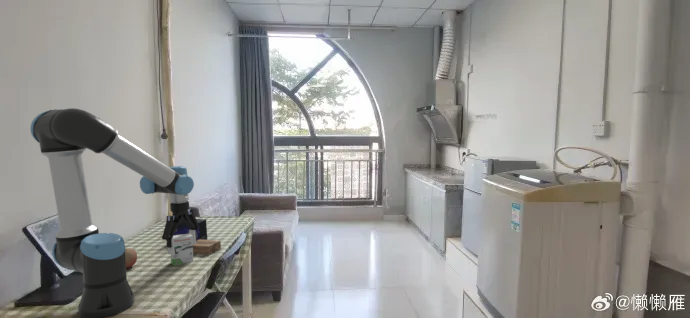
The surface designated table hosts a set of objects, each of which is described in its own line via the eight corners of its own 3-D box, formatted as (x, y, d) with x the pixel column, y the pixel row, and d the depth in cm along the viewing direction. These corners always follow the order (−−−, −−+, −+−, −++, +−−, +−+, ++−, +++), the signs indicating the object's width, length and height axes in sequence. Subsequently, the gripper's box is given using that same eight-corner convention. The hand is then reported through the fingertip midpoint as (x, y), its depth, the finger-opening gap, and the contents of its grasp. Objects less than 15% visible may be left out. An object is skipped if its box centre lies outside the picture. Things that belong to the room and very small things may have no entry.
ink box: (172, 265, 152) (171, 238, 151) (171, 262, 156) (169, 236, 155) (194, 261, 157) (192, 235, 156) (191, 258, 161) (190, 232, 160)
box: (171, 243, 185) (170, 220, 184) (180, 239, 191) (179, 217, 191) (200, 245, 181) (199, 221, 180) (208, 241, 187) (207, 218, 186)
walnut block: (209, 254, 165) (208, 246, 165) (187, 253, 168) (187, 244, 168) (220, 248, 174) (220, 240, 174) (199, 247, 177) (199, 239, 177)
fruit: (118, 265, 153) (117, 247, 153) (139, 263, 156) (138, 245, 156) (113, 272, 146) (112, 253, 145) (135, 269, 149) (134, 250, 148)
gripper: (165, 208, 142) (168, 259, 144) (205, 196, 166) (207, 240, 168) (149, 207, 144) (153, 258, 146) (191, 195, 168) (194, 239, 170)
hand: (182, 249), depth 157 cm, fingers open, 13 cm apart
